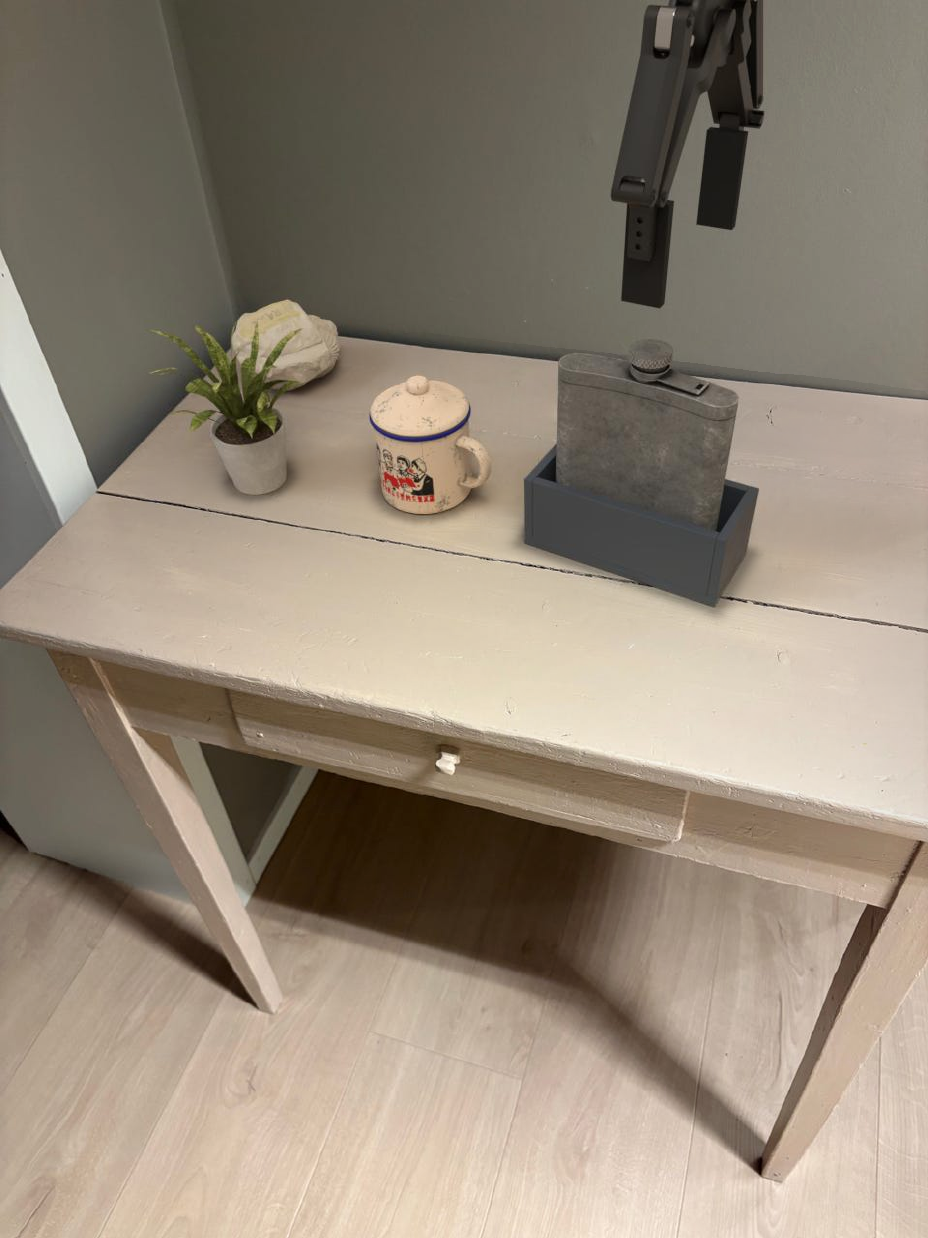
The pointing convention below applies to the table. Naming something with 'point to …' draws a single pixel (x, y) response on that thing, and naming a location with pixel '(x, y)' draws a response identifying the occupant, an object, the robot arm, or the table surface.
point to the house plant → (242, 414)
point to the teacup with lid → (425, 446)
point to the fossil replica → (301, 354)
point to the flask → (644, 433)
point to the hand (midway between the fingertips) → (681, 262)
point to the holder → (639, 535)
